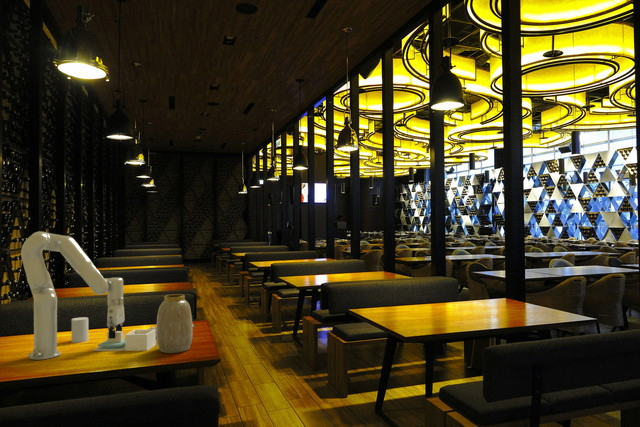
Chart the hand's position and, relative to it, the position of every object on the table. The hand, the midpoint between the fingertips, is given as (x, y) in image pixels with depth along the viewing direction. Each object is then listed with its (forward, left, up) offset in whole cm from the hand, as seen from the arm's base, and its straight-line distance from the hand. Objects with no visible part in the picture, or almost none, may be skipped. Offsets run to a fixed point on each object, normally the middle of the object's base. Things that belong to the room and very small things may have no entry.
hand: (115, 336), depth 238 cm
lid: (0, 0, -5) cm, 5 cm away
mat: (0, 0, -5) cm, 5 cm away
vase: (-6, -33, -6) cm, 34 cm away
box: (-2, -14, -5) cm, 15 cm away
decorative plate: (+32, -17, -6) cm, 36 cm away
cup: (+13, +26, -6) cm, 30 cm away
